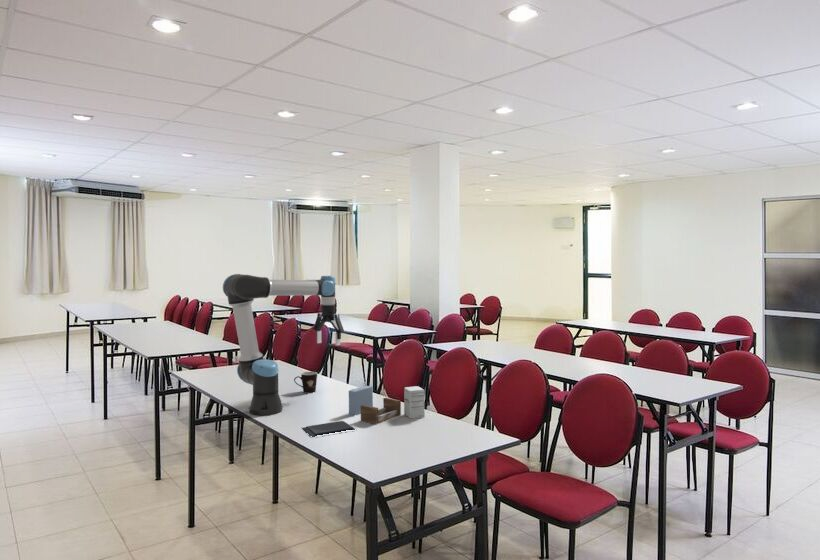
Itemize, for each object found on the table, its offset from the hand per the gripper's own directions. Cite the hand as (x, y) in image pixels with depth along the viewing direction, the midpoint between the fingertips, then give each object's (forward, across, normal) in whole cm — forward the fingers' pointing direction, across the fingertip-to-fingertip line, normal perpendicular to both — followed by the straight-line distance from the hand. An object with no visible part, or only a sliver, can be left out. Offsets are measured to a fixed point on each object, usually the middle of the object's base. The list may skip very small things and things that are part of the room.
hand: (328, 344), depth 298 cm
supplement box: (+26, -64, +11) cm, 70 cm away
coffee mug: (+26, +10, +7) cm, 28 cm away
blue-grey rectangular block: (+26, -40, +20) cm, 52 cm away
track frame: (+26, -54, +22) cm, 64 cm away
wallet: (+27, -46, +48) cm, 71 cm away
